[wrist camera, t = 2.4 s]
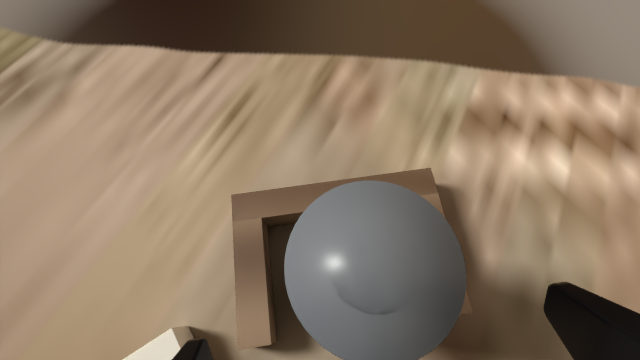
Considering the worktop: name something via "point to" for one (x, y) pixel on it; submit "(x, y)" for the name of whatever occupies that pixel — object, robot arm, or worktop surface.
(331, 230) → the grey rounded upright piece
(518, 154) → the worktop surface
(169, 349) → the dish
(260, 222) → the socket
